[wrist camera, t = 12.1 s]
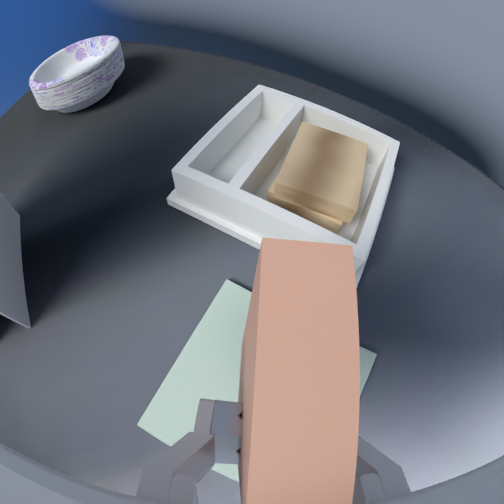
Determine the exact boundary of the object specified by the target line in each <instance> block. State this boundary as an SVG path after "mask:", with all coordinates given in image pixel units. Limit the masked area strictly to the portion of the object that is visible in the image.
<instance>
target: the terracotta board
mask: <svg viewBox="0 0 504 504" xmlns="http://www.w3.org/2000/svg"><path fill="white" fill-rule="evenodd" d="M359 401H360V355H359V325H358V306H357V291H356V278H355V267H354V256H353V247H352V245H342V244H331V243H320V242H309V241H298V240H286V239H275V238H263V237H262V241H261V247H260V252H259V257H258V263H257V268H256V273H255V279H254V284H253V289H252V294H251V300H250V305H249V310H248V315H247V320H246V326H245V331H244V336H243V341H242V349H241V364H240V378H239V393H238V402H242V403H243V414H242V420H243V423H242V442H241V448H240V458H239V464H238V474H239V484H240V494H241V503H242V504H352V501H353V492H354V483H355V473H356V461H357V448H358V430H359Z"/></svg>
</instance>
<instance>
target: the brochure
mask: <svg viewBox="0 0 504 504" xmlns="http://www.w3.org/2000/svg"><path fill="white" fill-rule="evenodd" d="M0 314H1V315H3V316H5V317H7V318H8V319H10V320H12V321H14V322H16V323H18V324H20V325H22V326H24V327H26V328H28V329H30V328H31V324H30V319H29V313H28V307H27V301H26V294H25V286H24V277H23V267H22V255H21V238H20V215H19V214H18V213H17V212H16V210H15V209H14V208H13V207H12V206H11V204H10V203H9V202H8V201H7V200H6V198H5V197H4V196H3V195H2V193H1V192H0Z"/></svg>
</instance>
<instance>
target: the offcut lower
mask: <svg viewBox="0 0 504 504" xmlns="http://www.w3.org/2000/svg"><path fill="white" fill-rule="evenodd" d="M366 164H367V163H366V162H365V166H366ZM277 178H278V177H277ZM277 178H276V180H277ZM276 180H275V181H274V183H273V184H272V186H271V187H270V189H269V190H268V195H267V201H268V202H270V203H272V204H275V205H277V206H279V207H281V208H283V209H285V210H287V211H290V212H292V213H294V214H296V215H298V216H300V217H302V218H304V219H306V220H308V221H310V222H312V223H315V224H317V225H319V226H321V227H323V228H325V229H327V230H329V231H331V232H333V233H335V234H337V233H338V231H339V229H340V228H341V226H342V223H343V222H342V221H340V220H337V219H334V218H332V217H329V216H326V215H323V214H320V213H318V212H315V211H312V210H309V209H306V208H303V207H300V206H297V205H294V204H291V203H289V202H286V201H283V200H280V199H277V198H274V197H273V193H274V187H275V182H276Z"/></svg>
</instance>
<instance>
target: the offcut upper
mask: <svg viewBox="0 0 504 504" xmlns="http://www.w3.org/2000/svg"><path fill="white" fill-rule="evenodd" d="M367 148H368V144H366V143H364V142H361V141H359V140H356V139H353V138H350V137H348V136H345V135H342V134H339V133H336V132H333V131H331V130H328V129H325V128H322V127H318V126H315V125H312V124H309V123H306V122H301V125H300V127H299V129H298V132H297V134H296V136H295V138H294V141H293V143H292V145H291V148H290V150H289V152H288V154H287V157H286V159H285V161H284V164H283V166H282V168H281V171H280V173H279V175H278V178H277V180H276V182H275V187H274V193H273V197H274V198H277V199H280V200H283V201H286V202H289V203H291V204H294V205H297V206H300V207H303V208H306V209H309V210H312V211H315V212H318V213H320V214H323V215H326V216H329V217H332V218H334V219H337V220H340V221H342V222H345V223H348V224H350V223H351V221H352V219H353V217H354V216H355V214H356V212H357V210H358V204H359V199H360V193H361V187H362V181H363V175H364V169H365V162H366V155H367Z"/></svg>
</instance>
